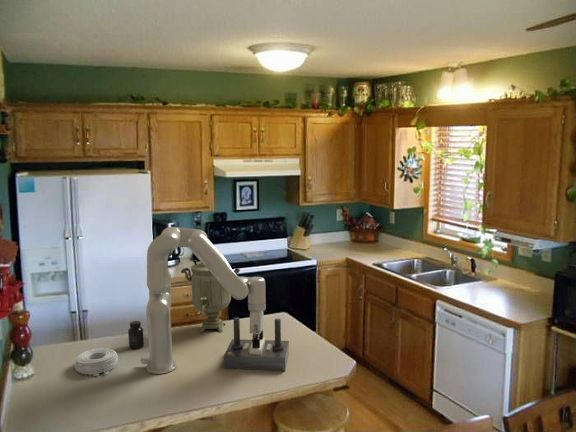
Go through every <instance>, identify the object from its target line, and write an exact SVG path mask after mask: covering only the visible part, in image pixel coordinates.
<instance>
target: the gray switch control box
mask: <svg viewBox="0 0 576 432" xmlns="http://www.w3.org/2000/svg"><path fill="white" fill-rule="evenodd" d="M233 343H234V338H232V339H231V341H230V342H229V345H228V347H227V349H226V351H225V353H224V354H223V367H224V368H223V370H243V371H245V370H247V371H271V372H272V371H273V372H276V371H277V372H285V371H286V369H287V364H288V361H289V355H290V341H289V340H281V344H282V345H283V350H281V351H275V350H273V349H272V346H273V345H274V344H275V339H274V340H270V339H268V340H267V339H265V348H264V351H263V354H262V355H252V354H249V349H250V346H251V344H252V339H241V338H240V343H242V344H243V348H242V349H238V350H235V349H232V344H233Z"/></svg>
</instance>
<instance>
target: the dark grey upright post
mask: <svg viewBox="0 0 576 432" xmlns="http://www.w3.org/2000/svg"><path fill="white" fill-rule="evenodd" d="M240 320H241V319H240V317H233V339H234V343H233V344H232V349H235V350H238V349H242V348H243V344H242V343H240V339H241V331H240V330H241V327H240V325H241V323H240Z"/></svg>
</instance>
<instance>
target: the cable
mask: <svg viewBox="0 0 576 432" xmlns="http://www.w3.org/2000/svg"><path fill="white" fill-rule="evenodd" d="M118 361H119V360H118V354H117V352H116V351H115V350H113V349H112V348H106V347H99V348H98V347H97V348H92V349H88V350H86V351H84V352H81V353H80V354H78V355H77V357H76V359H75V364H74V369H75V371H77V372H78V373H79V374H83V375H87V374H90V375H89V376H91V375H93V376H92V377H95V376H97V377H99V376H100V374H102V373H103V374H102V376H103V377H104V376H106V375H107V374H108V373H109V372H111V370H112V369H114V368H115V367H116V365H117V363H118Z"/></svg>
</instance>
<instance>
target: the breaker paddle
mask: <svg viewBox="0 0 576 432" xmlns="http://www.w3.org/2000/svg"><path fill="white" fill-rule="evenodd" d="M265 340H266V337H263V339H260V348H252V344H251V346H250V349H249V354H252V355H262V354H263V351H264V348H265Z"/></svg>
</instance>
